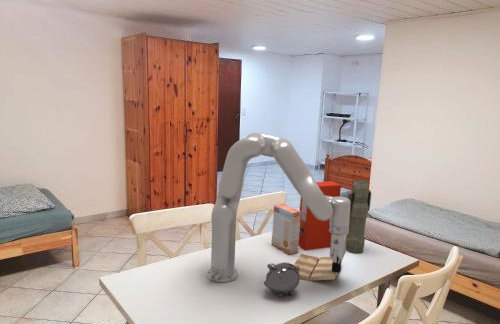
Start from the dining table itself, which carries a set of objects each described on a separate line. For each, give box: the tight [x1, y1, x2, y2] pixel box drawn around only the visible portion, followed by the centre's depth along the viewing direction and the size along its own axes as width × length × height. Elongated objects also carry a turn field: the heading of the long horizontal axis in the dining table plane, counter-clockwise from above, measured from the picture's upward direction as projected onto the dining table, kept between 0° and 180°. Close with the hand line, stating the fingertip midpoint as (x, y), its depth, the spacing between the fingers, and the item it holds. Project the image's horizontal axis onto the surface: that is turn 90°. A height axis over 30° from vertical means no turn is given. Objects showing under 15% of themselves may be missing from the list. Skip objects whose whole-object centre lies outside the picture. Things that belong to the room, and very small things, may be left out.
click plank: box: [311, 256, 343, 281], centre depth 154 cm, size 20×10×2 cm, turn 157°
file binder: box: [298, 180, 342, 252], centre depth 179 cm, size 8×17×32 cm, turn 111°
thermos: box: [346, 179, 372, 255], centre depth 176 cm, size 9×12×35 cm
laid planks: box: [293, 253, 320, 282], centre depth 158 cm, size 20×9×2 cm, turn 157°
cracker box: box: [271, 203, 301, 256], centre depth 175 cm, size 14×6×21 cm, turn 33°
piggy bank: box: [263, 262, 301, 299], centre depth 137 cm, size 11×15×12 cm
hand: (336, 271), depth 147 cm, fingers closed
